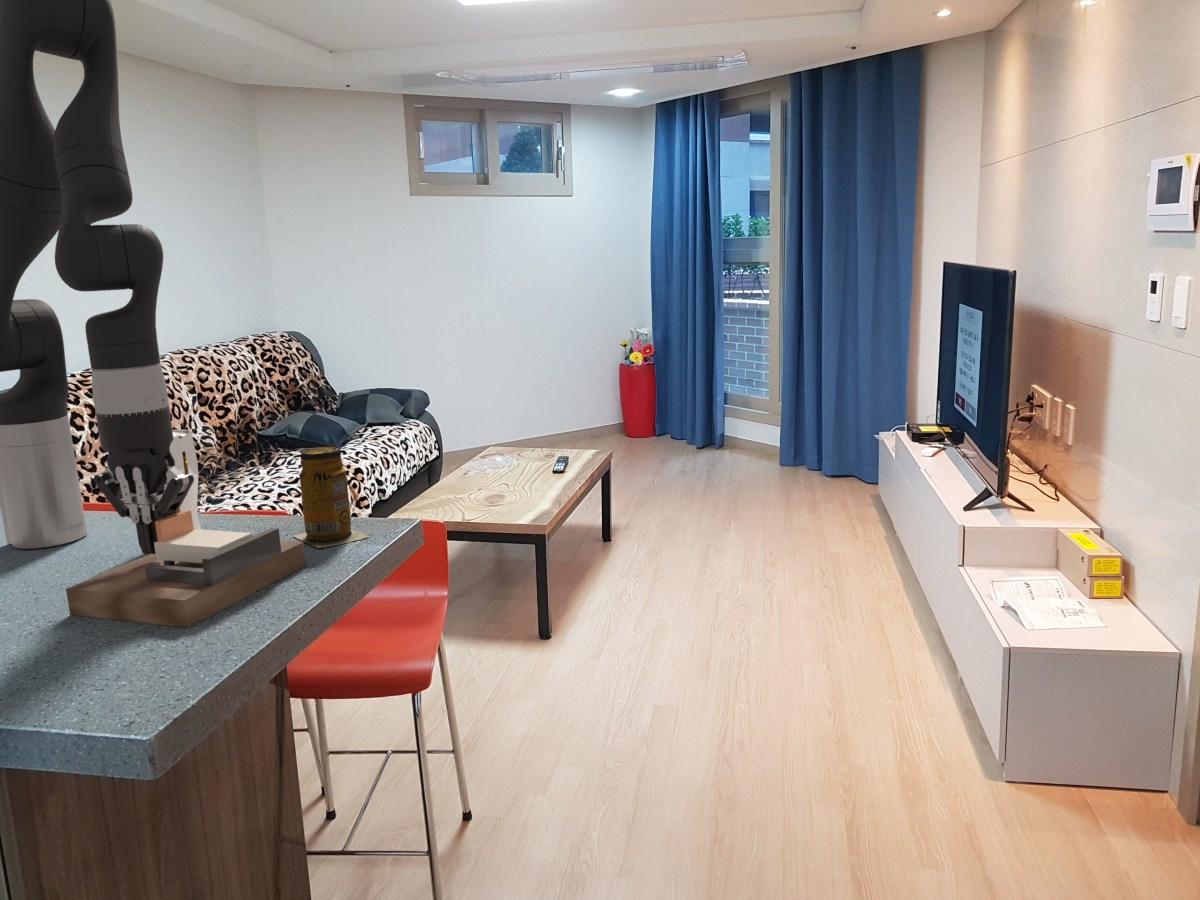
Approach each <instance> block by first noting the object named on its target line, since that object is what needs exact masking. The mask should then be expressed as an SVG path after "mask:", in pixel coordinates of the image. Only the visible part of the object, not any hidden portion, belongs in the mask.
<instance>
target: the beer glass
mask: <svg viewBox="0 0 1200 900" xmlns="http://www.w3.org/2000/svg"><path fill="white" fill-rule="evenodd" d="M172 430H173V438H174V439H173V441H172V443H171V445H170V452H171V455H172V456H173V458H174V460H175V468H176V469H178V470H179V471H180V472H181V473H182V474H183V475H185V474H188V473H189V474H191V475H192V476H193V477H194V482H193V483H192V485H191V487H190V489H189V491H188V493H187V495H186V497H185V499H184V501H183V502H182V504H181V506H180V508H179V510H178V512H177V513H180V512H183V511H185V510H191V514H192V521H193V528H194V529H200V530H203V529H202V527H201V526H202V525H201V522H200V520H199V516H198V494H199V493H198V492H199V491H198V490H199V465H198V458H197V451H196V447H195V444H194V443H195V442H194V439H193V435H192V434H193V433H192V431H191V430H190V429H172ZM153 506H154V510H155V505H154V504H153ZM177 513H176V514H177ZM173 515H174V514H173ZM171 516H172V515H171ZM168 517H169V516H168Z"/></svg>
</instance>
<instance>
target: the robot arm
mask: <svg viewBox="0 0 1200 900" xmlns="http://www.w3.org/2000/svg"><path fill="white" fill-rule="evenodd" d="M111 1H112V0H0V373H2V372H9V371H19V378H18V380H17V381H16V383H15V384H14V385H13V386H12V387H11V388H10V389H8V390H7V391H5V392H4V393H2V394H0V512H1V513H0V514H1V517H2V523H3V529H4V533H5V539H6V543H7V544H11V545H12V547H13V548H16V549H21V550H22V549H23V550H24V549H25V550H28V549H42V548H50V547H56V546H60V545H64V544H68V543H72V542H74V541H77V540H80V539H82V538H84V537H85V536H86V535H88V530H87V529H88V528H87V523H86V517H85V511H84V505H83V504H84V503H83V497H82V492H81V485H80V479H79V475H78V468H77V467H78V466H77V461H76V455H75V449H74V445H73V444H74V442H73V437H72V432H71V425H70V419H69V413H68V406H67V403H68V398H69V383H68V375H67V365H66V364H67V362H66V355H65V353H66V352H65V343H64V335H63V331H62V327H61V324H60V320H59V318H58V316H57V314H56V312H55V311H54V309H53V308H52V307H51V306H50V305H49V304H48V303H46V302H45V301H43V300H41V299H34V298H33V299H32V298H30V299H29V298H27V299H15V295H16V294H15V293H16V290H17V287H18V284H19V282H20V281H21V279H22V277H23V275H24V274H25V273H26V271H27V269H28V268H29V267H30V265H31V264H32V263H33V262H34V261H35V259H37V257H38V256H39V255H40V254H41V253H42V252H43V250H44V249H45V248H46V247H47V246H48V244H49V243H50V242H51V241H52V240H53V239H54V237H55V236H56V235H57V237H56V243H55V247H54V248H55V249H54V265H55V269H56V272H57V275H58V276H59V278H60V279H61V280H62V281H63V282H64V284H65V285H66V286H67V287H69V288H71V289H73V290H75V291H76V292H77V291H78V292H85V293H86V292H101V291H118V290H119V291H121V290H132V293H131V298H130V300H129V301H128V302H127V303H126V304H125V305H124V306H123V307H120V308H117V309H114V310H110V311H107V312H102V313H98V314H95V315H92V316H91V317H89V318H88V319H87V320H86V321H85V338H86V343H87V351H88V357H89V362H90V368H91V389H92V398H93V399H92V400H93V404H94V410H95V417H96V423H97V429H98V436H99V437H98V438H99V443H100V448H101V449H102V450H103V451H105V452H107V453H108V456H107V459H106V465H107V467H106V468H105V469H104V470H103V471H102V472H101V473H99V474H96V475H94V477H93V482H94V483H95V484H96V486H97V487H98V489H99V490H100V491H101V493H102V494H103V495H104V497H105V498H106V499H107V501H108V502H109V504H110V505H111V506H112V508H113V509H114V510H115V512H116V513H117V514H118V516H119V517H121V518H130V520H131V521H132V523H133V524H135V527H136V528H135V529H136V534H137V535H136V536H137V539H138V541H137V542H138V545H139V548H140V550H141V553H142V554H147V555H150V554H156V553H155V546H154V543H155V542H157V541H158V538H157V531H156V525H155V521H158V520H161V519H163V518H166V517H168V516H171V515H173V514H176V513H177V512H178V510H179V508H180V506H181V504H182V502H183V501H184V499H185V497H186V495H187V493H188V491H189V489H190V487H191V485H192V483H193V482H194V477H193V476H192V475H191V474H189V473H188V474H185V475H183V474H182V473H181V472H180V471H179V470H178V469H176V468H175V460H174V458H173V456H172V455H171V452H170V445H171V443H172V441H173V439H174V438H173V430H174V429H173V424H172V417H171V416H172V415H171V410H170V404H169V397H168V396H169V395H168V391H167V382H166V379H165V376H164V371H163V369H162V364H161V358H160V357H161V356H160V350H159V345H158V344H159V342H158V333H157V322H156V319H157V305H158V304H157V303H158V294H159V288H160V283H161V277H162V271H163V266H164V250H163V245H162V243H161V240H160V239H159V237H158V236H157V234H156V233H155V232H154V231H153V230H152V229H151V228H150V227H148V226H146V225H143V224H138V223H137V224H136V223H130V224H126V223H125V224H95V223H97V222H101V221H104V220H108V219H109V220H110V219H112V218H115V217H118V216H120V215H122V214H124V213H126V212H127V211H129V209H130V208H131V206H132V204H133V190H132V185H131V180H130V175H129V169H128V165H127V161H126V156H125V152H124V145H123V140H122V135H121V133H122V132H121V123H120V108H119V107H120V102H119V100H120V99H119V95H120V94H119V70H118V69H119V67H118V66H119V65H118V49H117V46H118V45H117V30H116V22H115V21H116V20H115V15H114V14H115V12H114V8H113V5H112V2H111ZM36 51H37V52H39V53H42V54H46V55H47V54H48V55H52V56H56V57H60V58H63V59H64V58H65V59H70V60H75V61H80V63H81V64H82V67H83V73H84V74H83V80H82V84H81V85H80V88H79V89H78V91H77V93H76V95H75V96H74V97H73V98H72V100H71V102H70V103H69V104H68V106H67V108H65V110H64V112H63V113H62V114H61V116H60V118H59V119H58V122H57V124H56V127H54V125H53V123H52V122H51V120H50V118H49V115H48V114H47V111H46V109H45V108H44V105H43V103H42V100H41V98H40V95H39V92H38V90H37V85H36V80H35V76H34V75H35V74H34V56H35V52H36ZM153 504H154V505H155V510H154V506H153Z"/></svg>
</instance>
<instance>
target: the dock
mask: <svg viewBox="0 0 1200 900" xmlns="http://www.w3.org/2000/svg"><path fill="white" fill-rule="evenodd" d="M280 539H281V538H280V529H279V528H275V527H271V528H268V529H266V530H264V531H262V532H260V533H257V534H255V535H252V537H250V538H248V539H246V540H243V541H241V542H239V543H237V544H234V545H232V546H230V547H228V548H225V549H223V550H221V551H219V552H216V553H214V554H212V555H210V556H207V557H205V558H203V559H202V563H191V562H179V561H175V564H174V566H167V565H164V564H163V562H164V560H156V554H147V555H145V556H143V557H141V558H138V559H135V560H133V561H130V562H128V563H126V564H123V565H121V566H118V567H115V568H113V569H110V570H109V571H106V572H104V573H101V574H99V575H98V574H97V575H96V576H94V577H91V578H88V579H86V580H84V581H81V582H79V583H76V584H73V585H72V586H69V587H66V588H65V591H66V592H65V593H66V598H67V603H68V604H67V605H68V611H69V615H70V616H78V617H88V618H96V619H97V618H98V619H106V620H116V621H123V622H124V621H125V622H131V623H133V622H134V623H142V624H151V625H159V626H171V627H179V628H187V629H188V628H190V627H192V626H194V625H196V624H198V623H200V622H201V621H203V620H205V619H207V618H209V617H212V616H213V615H215V614H216V613H219V612H220V611H221V612H222V610H225V609H226V608H228V607H230V606H232V605H234V604H235V603H238V602H240V601H241V600H243V599H245V598H247V597H249V596H251V595H254V594H255V593H257V592H259V591H260V590H262V589H264V588H265V587H268V586H270V585H271V583H272V584H274V583H275V581H276V582H277V581H280V580H281V579H283V578H285V577H287V576H288V574H289V575H290V573H291V574H293V573H295V572H297V571H298V570H300V569H302V568H304V567H306V566H307V560H306V554H305V552H306V551H305V544H304V543H305V542H303V541H297V540H296V541H295V540H293V541H292V540H280ZM305 565H306V566H305ZM303 566H304V567H303ZM299 568H300V569H299ZM294 571H295V572H294ZM292 572H293V573H292ZM286 575H287V576H286ZM284 576H285V577H284ZM273 582H274V583H273ZM263 587H264V588H263ZM258 590H259V591H258ZM256 591H257V592H256Z"/></svg>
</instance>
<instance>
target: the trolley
mask: <svg viewBox="0 0 1200 900" xmlns="http://www.w3.org/2000/svg"><path fill="white" fill-rule="evenodd" d="M155 525H156V531H157V538H158V541H157V542H155V543H154V546H155V553H156V560H164V562H163V564H164V565H167V566H174V564H175V561H179V562H191V563H202V559H203V558H205V557H207V556H210V555H212V554H214V553H216V552H219V551H221V550H223V549H225V548H228V547H230V546H232V545H234V544H237V543H239V542H241V541H243V540H246V539H248V538H250V537H252V536H253V533H252V532H243V531H241V532H240V531H229V530H227V531H225V530H212V529H202V530H200V529H194V528H193V521H192V514H191V510H185V511H183V512H180V513H177V514H174V515H172V516H169V517H166V518H163V519H161V520H158V521H155Z"/></svg>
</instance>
